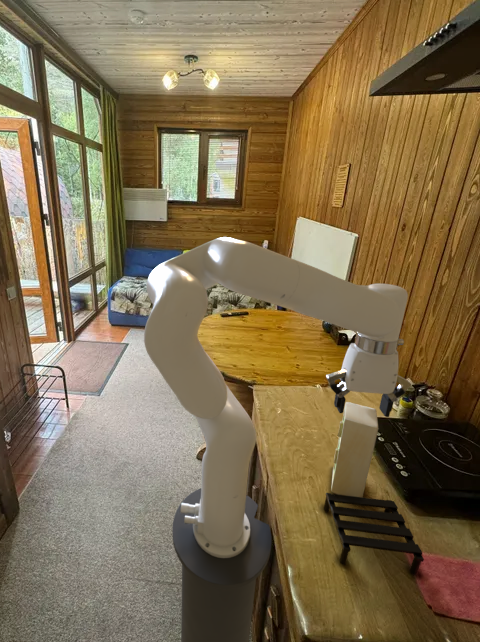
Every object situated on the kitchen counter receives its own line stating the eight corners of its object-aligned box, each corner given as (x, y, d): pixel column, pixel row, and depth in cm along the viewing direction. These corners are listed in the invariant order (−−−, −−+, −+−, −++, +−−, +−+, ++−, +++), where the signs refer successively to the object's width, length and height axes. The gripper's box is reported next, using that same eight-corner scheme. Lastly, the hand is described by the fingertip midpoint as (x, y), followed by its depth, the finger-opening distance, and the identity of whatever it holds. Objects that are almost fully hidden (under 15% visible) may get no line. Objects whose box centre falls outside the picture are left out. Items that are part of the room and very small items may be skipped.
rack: (340, 564, 59) (344, 546, 58) (323, 507, 70) (326, 490, 69) (418, 575, 58) (425, 557, 56) (387, 515, 69) (392, 498, 67)
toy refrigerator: (329, 467, 81) (342, 399, 75) (360, 478, 78) (377, 408, 72) (327, 491, 75) (341, 418, 68) (361, 504, 71) (379, 429, 65)
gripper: (409, 337, 67) (393, 404, 72) (327, 333, 69) (317, 398, 74) (430, 353, 60) (411, 425, 65) (338, 348, 62) (326, 418, 67)
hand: (361, 411), depth 70 cm, fingers open, 9 cm apart
